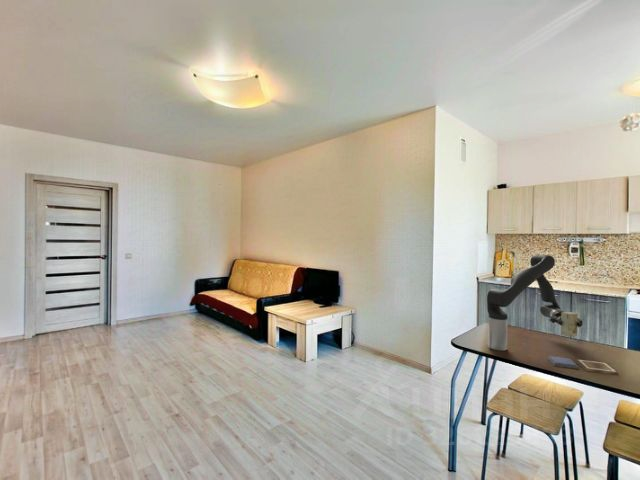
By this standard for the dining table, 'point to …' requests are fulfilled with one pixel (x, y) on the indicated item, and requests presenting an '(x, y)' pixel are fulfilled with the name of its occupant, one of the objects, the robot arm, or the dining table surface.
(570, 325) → the skincare box
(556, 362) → the ink pad
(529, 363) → the dining table surface
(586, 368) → the marked board
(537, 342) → the dining table surface
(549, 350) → the dining table surface
